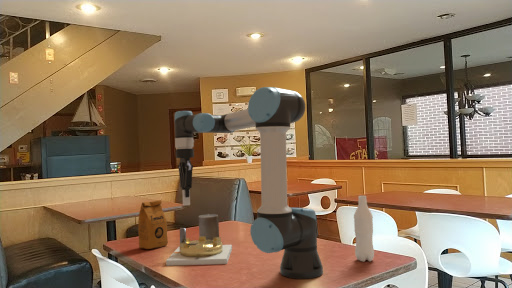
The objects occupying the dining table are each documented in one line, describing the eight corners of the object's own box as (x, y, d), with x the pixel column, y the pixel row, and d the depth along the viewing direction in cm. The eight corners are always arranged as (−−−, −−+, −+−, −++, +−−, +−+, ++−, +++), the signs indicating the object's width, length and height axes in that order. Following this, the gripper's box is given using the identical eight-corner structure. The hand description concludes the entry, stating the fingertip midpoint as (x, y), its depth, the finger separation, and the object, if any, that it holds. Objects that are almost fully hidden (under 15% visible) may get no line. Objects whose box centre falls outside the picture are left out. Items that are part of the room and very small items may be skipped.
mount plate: (226, 263, 157) (226, 258, 157) (166, 265, 157) (166, 259, 158) (232, 249, 181) (231, 244, 181) (179, 250, 181) (179, 245, 181)
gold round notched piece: (177, 257, 160) (176, 232, 160) (182, 247, 178) (181, 224, 178) (222, 255, 161) (221, 230, 161) (222, 245, 179) (222, 223, 179)
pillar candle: (222, 241, 196) (221, 211, 197) (215, 246, 187) (213, 214, 188) (204, 241, 199) (202, 211, 200) (196, 246, 190) (194, 214, 190)
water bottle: (351, 259, 158) (349, 195, 158) (367, 256, 160) (364, 194, 161) (362, 263, 151) (360, 197, 152) (378, 261, 154) (375, 196, 154)
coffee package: (170, 246, 191) (169, 200, 191) (147, 251, 182) (146, 203, 182) (159, 243, 198) (157, 199, 198) (136, 248, 189) (135, 201, 189)
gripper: (198, 147, 162) (200, 205, 162) (188, 148, 174) (190, 202, 173) (180, 148, 159) (182, 207, 158) (171, 149, 170) (173, 204, 170)
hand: (186, 205), depth 166 cm, fingers closed
